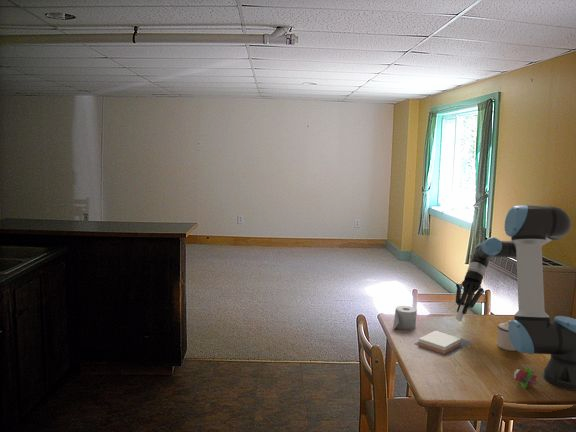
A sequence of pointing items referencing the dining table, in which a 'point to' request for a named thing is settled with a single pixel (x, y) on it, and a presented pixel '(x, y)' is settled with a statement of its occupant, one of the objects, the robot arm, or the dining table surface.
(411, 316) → the toilet tissue
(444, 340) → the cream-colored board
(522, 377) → the geometric puzzle
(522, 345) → the robot arm
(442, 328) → the dining table surface
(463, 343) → the mat
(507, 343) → the teacup with lid
